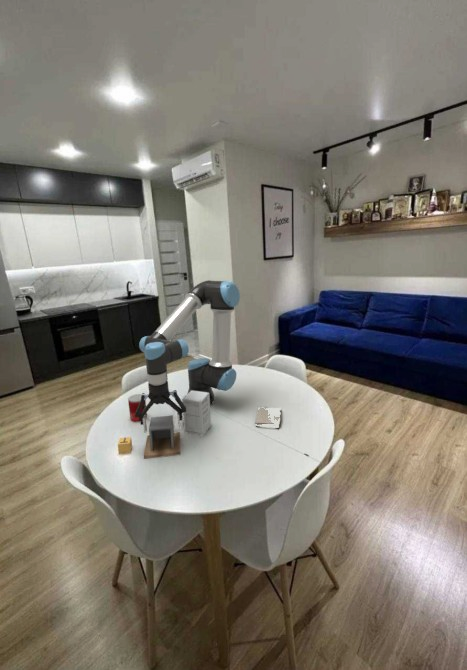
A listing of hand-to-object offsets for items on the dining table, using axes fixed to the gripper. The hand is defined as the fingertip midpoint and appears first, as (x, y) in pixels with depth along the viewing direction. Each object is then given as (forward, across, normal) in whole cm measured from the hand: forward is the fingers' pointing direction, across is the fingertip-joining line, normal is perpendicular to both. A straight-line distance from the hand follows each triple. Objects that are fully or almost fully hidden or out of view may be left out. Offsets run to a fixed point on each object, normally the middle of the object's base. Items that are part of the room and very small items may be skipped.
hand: (162, 429), depth 124 cm
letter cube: (+8, +15, 0) cm, 17 cm away
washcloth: (+9, -49, -12) cm, 51 cm away
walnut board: (+8, 0, 0) cm, 8 cm away
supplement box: (+8, -15, -10) cm, 19 cm away
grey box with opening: (+6, 0, 0) cm, 7 cm away
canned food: (+8, +13, -25) cm, 29 cm away
